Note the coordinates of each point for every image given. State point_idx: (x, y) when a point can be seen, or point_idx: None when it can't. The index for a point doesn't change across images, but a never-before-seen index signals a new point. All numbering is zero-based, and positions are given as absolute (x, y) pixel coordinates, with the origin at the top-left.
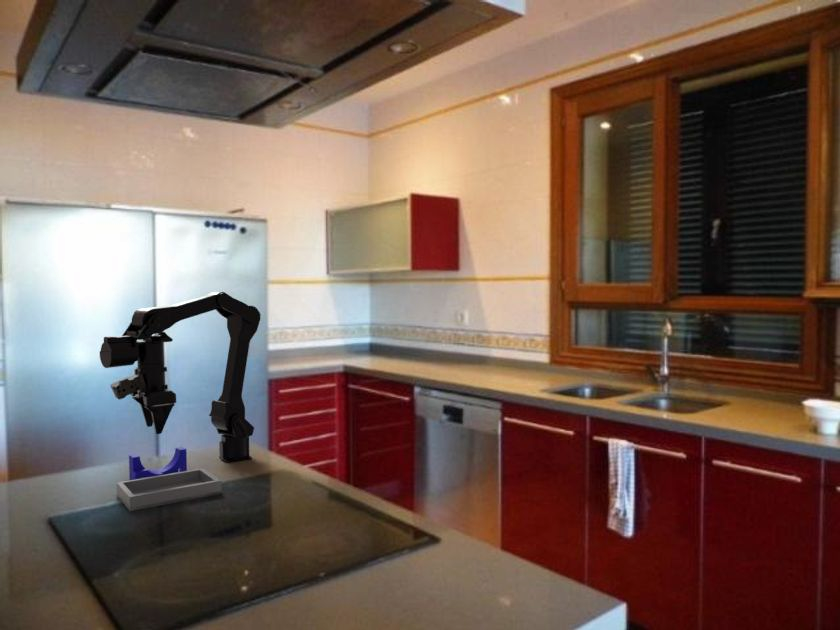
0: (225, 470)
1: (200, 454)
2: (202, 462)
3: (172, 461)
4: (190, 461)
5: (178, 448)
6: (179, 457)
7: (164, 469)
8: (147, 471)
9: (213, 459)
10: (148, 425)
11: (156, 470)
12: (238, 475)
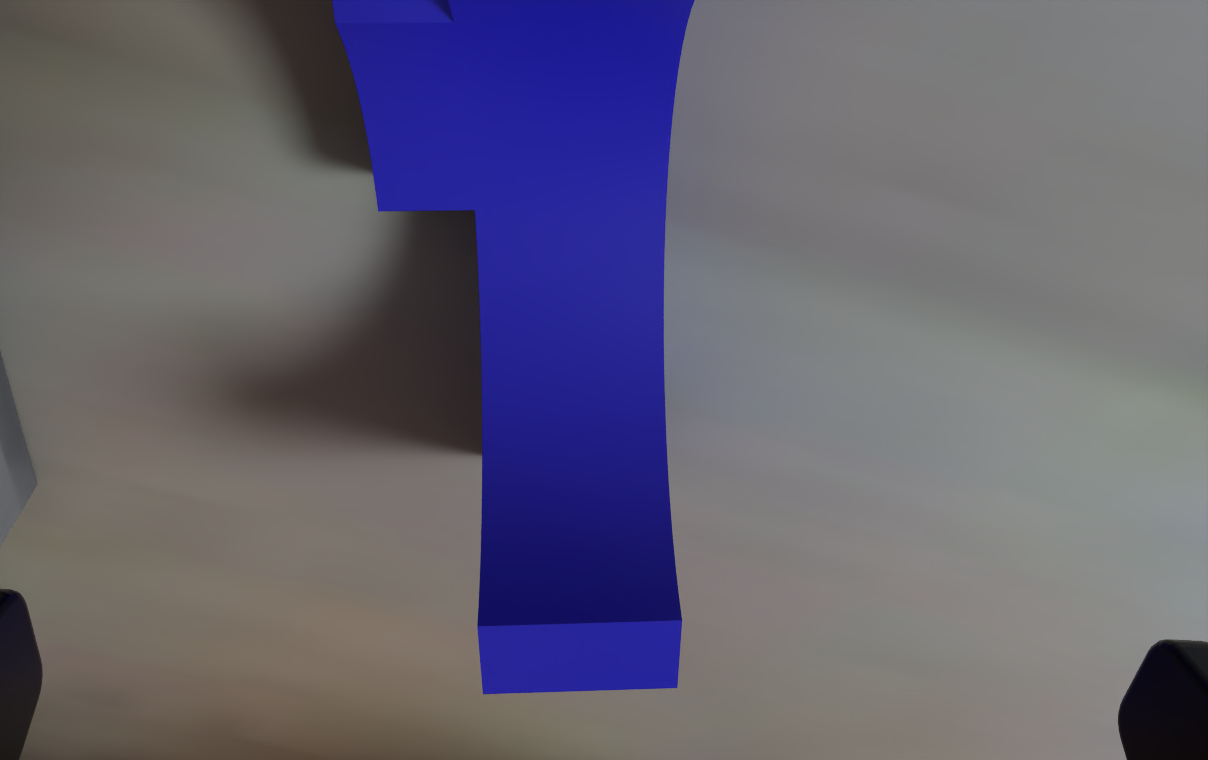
0: (357, 721)
1: (1118, 730)
2: (811, 668)
3: (609, 440)
4: (949, 607)
5: (595, 634)
6: (484, 536)
7: (559, 286)
8: (337, 13)
9: (834, 754)
10: (1164, 682)
11: (628, 197)
12: (105, 744)
